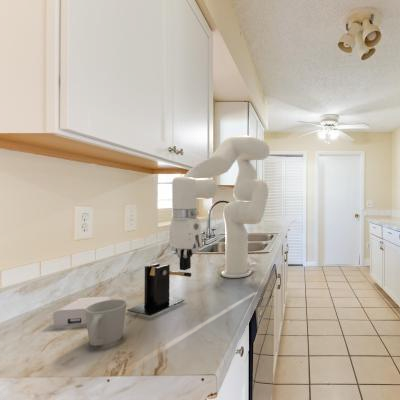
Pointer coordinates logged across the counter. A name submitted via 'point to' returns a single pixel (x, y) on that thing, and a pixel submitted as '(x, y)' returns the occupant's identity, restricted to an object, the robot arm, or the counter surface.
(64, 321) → the charger
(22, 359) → the counter surface
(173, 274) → the tap lever
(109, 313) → the cup
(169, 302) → the bracket
